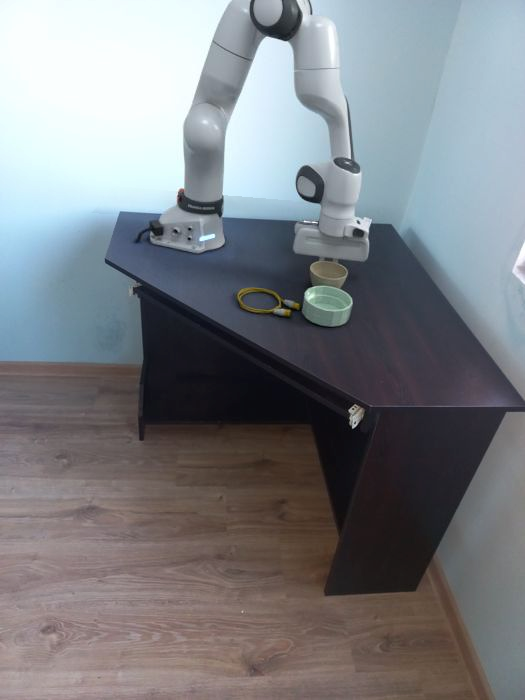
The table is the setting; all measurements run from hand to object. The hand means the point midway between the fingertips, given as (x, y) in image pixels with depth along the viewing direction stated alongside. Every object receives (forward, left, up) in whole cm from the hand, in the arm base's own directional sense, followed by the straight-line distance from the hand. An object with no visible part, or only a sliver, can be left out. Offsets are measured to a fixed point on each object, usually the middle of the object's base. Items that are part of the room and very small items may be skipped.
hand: (326, 270), depth 148 cm
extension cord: (-16, -16, -4) cm, 23 cm away
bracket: (+8, +35, -4) cm, 36 cm away
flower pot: (0, -6, -4) cm, 7 cm away
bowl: (0, -17, -4) cm, 17 cm away
